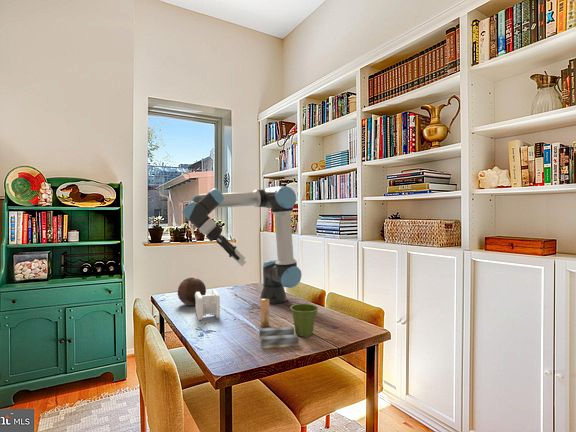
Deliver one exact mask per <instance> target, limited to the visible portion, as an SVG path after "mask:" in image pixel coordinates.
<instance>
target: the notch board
mask: <svg viewBox="0 0 576 432" xmlns="http://www.w3.org/2000/svg"><path fill="white" fill-rule="evenodd" d="M258 334H259V335H258V336H259V337H258V338H259V342H260V347H261V350H262V349H276V348H277V349H278V348H288V347H290V346H294V347H298V346H299V337H298V336H299V335H297V334H296V333H295V327H294V326H281V327H278V326H277V327H261V328H259V329H258ZM290 348H291V347H290Z"/></svg>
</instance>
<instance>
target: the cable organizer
mask: <svg viewBox="0 0 576 432" xmlns="http://www.w3.org/2000/svg"><path fill="white" fill-rule="evenodd" d="M211 291H212V292H211V294H205V295H202V296H201V294H200V292H196V293H195V298H196V305H195V314H196V316H197V319H198V320H199V321H202V320H204V317H206V316H207V315H210V314H211V316H213V315H214V316H215V318H216V319H218V318H221V310H220V309H221V304H220V303H221V302H220V301H221V298H220V297H221V296H220V293H219V292H218V291H217V289H212V290H211Z"/></svg>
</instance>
